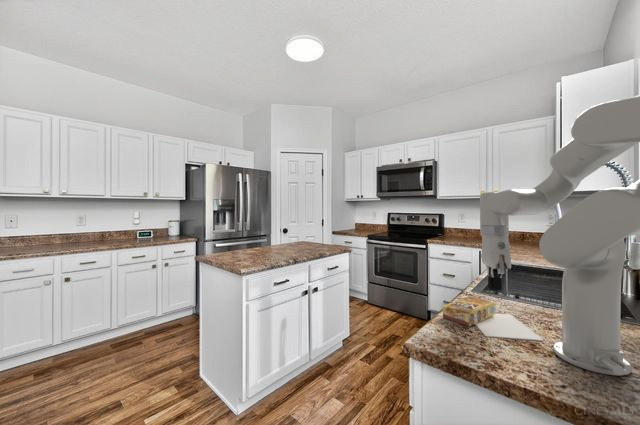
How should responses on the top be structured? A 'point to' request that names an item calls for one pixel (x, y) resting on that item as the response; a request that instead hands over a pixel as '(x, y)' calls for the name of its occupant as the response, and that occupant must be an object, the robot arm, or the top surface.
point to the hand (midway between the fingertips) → (494, 289)
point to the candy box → (469, 310)
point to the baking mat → (506, 328)
